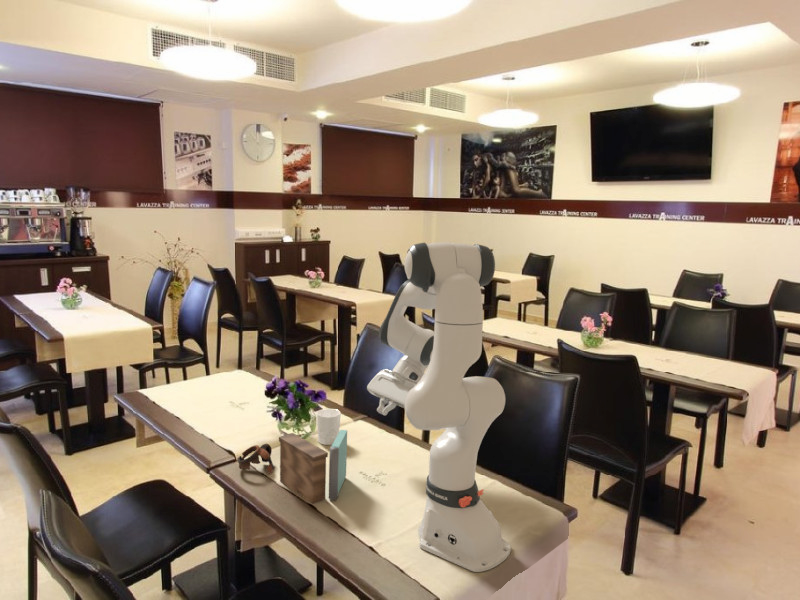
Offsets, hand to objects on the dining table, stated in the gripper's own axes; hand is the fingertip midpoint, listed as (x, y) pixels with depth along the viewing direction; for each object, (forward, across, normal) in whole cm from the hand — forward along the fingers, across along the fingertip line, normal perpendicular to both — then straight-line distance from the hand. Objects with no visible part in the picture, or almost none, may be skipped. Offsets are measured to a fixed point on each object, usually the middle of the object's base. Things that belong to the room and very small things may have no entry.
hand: (380, 413), depth 166 cm
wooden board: (+30, -3, -6) cm, 31 cm away
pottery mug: (+33, -21, -8) cm, 40 cm away
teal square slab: (+24, +3, -1) cm, 25 cm away
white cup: (+13, -24, +12) cm, 30 cm away
